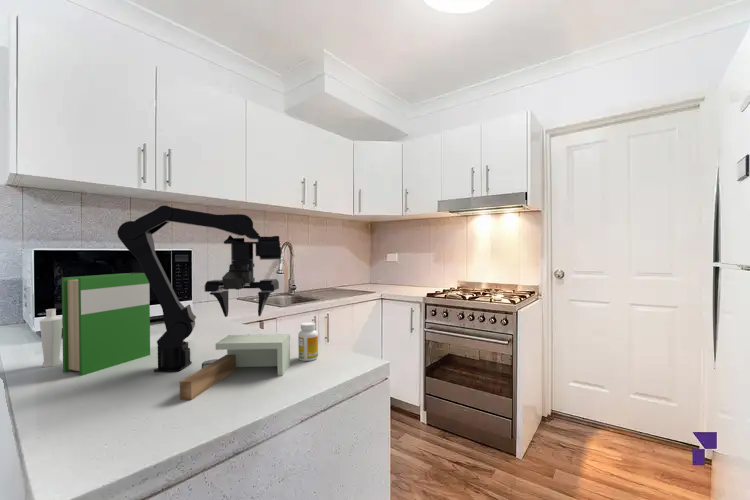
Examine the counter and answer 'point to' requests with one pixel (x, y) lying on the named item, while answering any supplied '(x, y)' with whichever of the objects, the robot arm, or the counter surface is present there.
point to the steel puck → (208, 362)
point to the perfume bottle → (51, 338)
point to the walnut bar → (206, 377)
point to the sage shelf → (258, 350)
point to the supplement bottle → (308, 342)
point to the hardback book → (104, 321)
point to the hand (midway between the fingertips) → (243, 316)
